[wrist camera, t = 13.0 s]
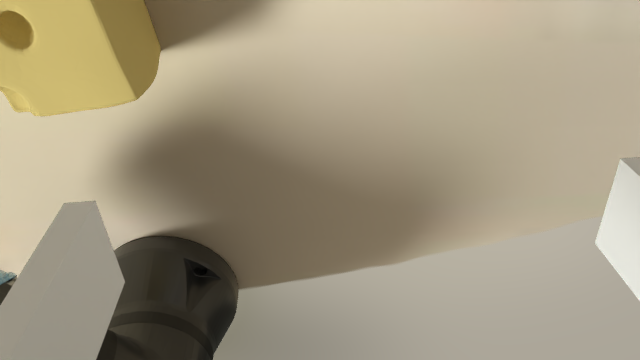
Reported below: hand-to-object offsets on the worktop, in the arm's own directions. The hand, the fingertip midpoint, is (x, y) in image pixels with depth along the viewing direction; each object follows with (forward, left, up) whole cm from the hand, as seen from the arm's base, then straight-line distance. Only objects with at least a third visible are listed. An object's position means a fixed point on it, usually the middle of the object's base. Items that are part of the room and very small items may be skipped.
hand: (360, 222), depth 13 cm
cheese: (-18, -1, -32) cm, 37 cm away
